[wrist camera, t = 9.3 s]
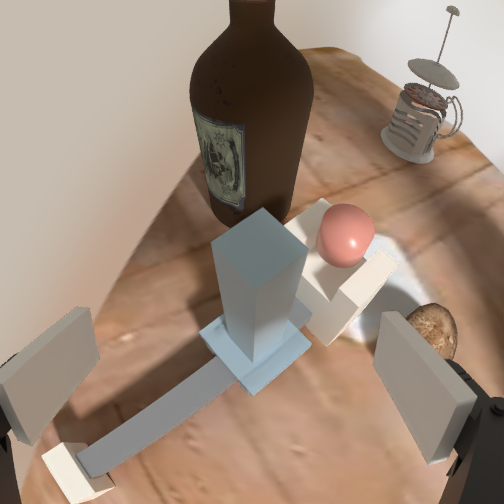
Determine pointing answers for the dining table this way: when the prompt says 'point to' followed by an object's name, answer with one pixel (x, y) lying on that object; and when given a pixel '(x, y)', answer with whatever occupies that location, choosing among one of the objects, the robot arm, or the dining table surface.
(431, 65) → the french press
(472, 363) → the dining table surface
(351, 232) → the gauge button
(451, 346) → the mushroom
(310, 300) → the slide rail
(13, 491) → the robot arm
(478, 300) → the dining table surface
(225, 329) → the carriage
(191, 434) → the dining table surface
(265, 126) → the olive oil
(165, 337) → the dining table surface
